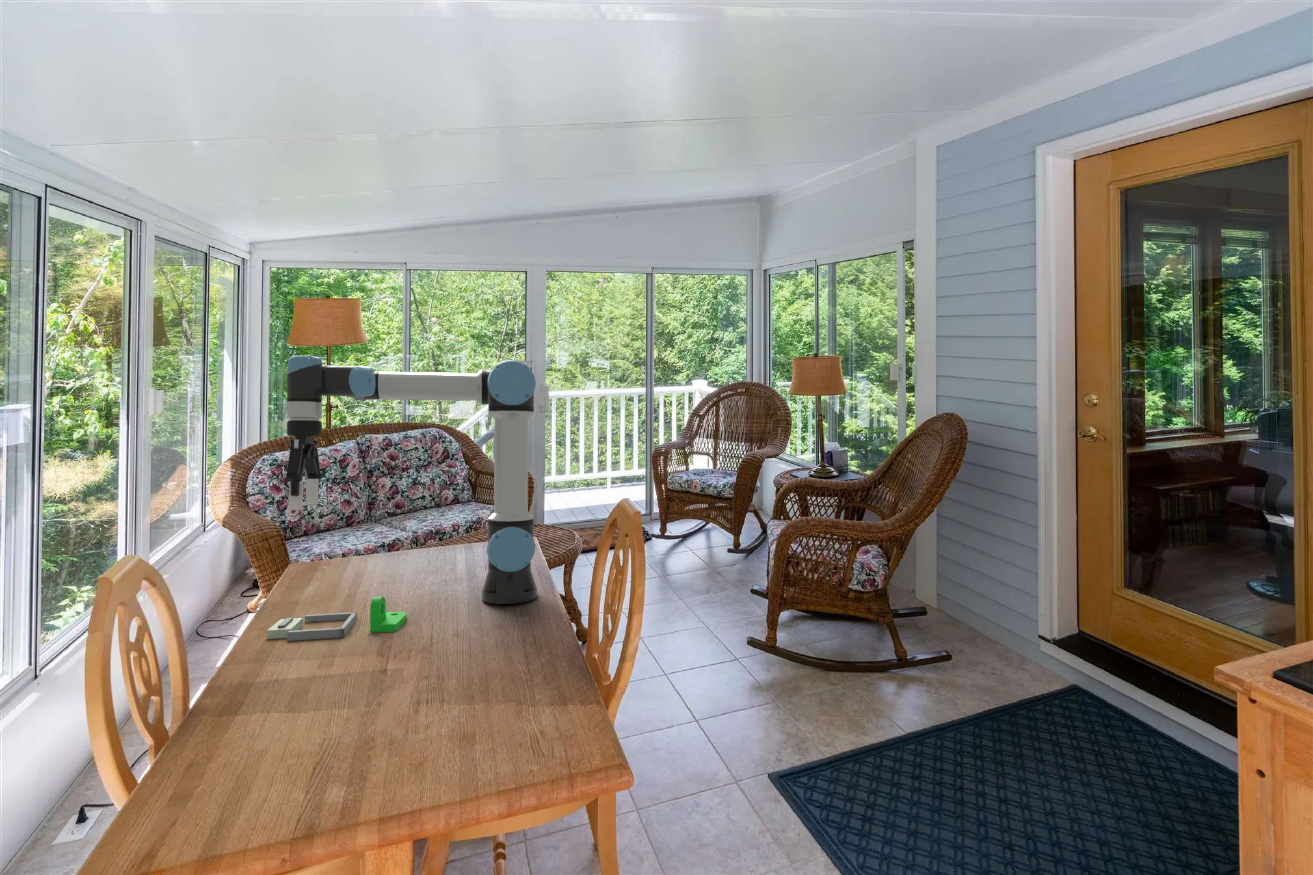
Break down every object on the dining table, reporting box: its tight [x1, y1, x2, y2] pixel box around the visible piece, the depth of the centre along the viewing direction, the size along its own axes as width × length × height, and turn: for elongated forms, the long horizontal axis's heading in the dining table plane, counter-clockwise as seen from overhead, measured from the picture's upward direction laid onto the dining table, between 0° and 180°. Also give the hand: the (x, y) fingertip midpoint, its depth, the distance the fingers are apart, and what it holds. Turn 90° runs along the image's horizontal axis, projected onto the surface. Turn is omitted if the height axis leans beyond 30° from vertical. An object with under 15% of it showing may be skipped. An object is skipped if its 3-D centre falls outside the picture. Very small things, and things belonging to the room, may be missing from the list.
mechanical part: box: [369, 596, 408, 633], centre depth 166 cm, size 12×6×8 cm, turn 6°
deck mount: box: [266, 611, 358, 642], centre depth 161 cm, size 17×16×3 cm
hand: (304, 507), depth 162 cm, fingers open, 13 cm apart
